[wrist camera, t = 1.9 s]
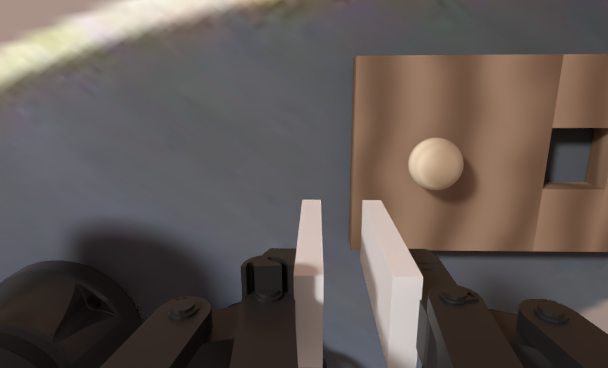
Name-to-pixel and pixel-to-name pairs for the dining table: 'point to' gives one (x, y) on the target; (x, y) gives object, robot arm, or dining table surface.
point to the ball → (435, 163)
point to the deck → (481, 149)
